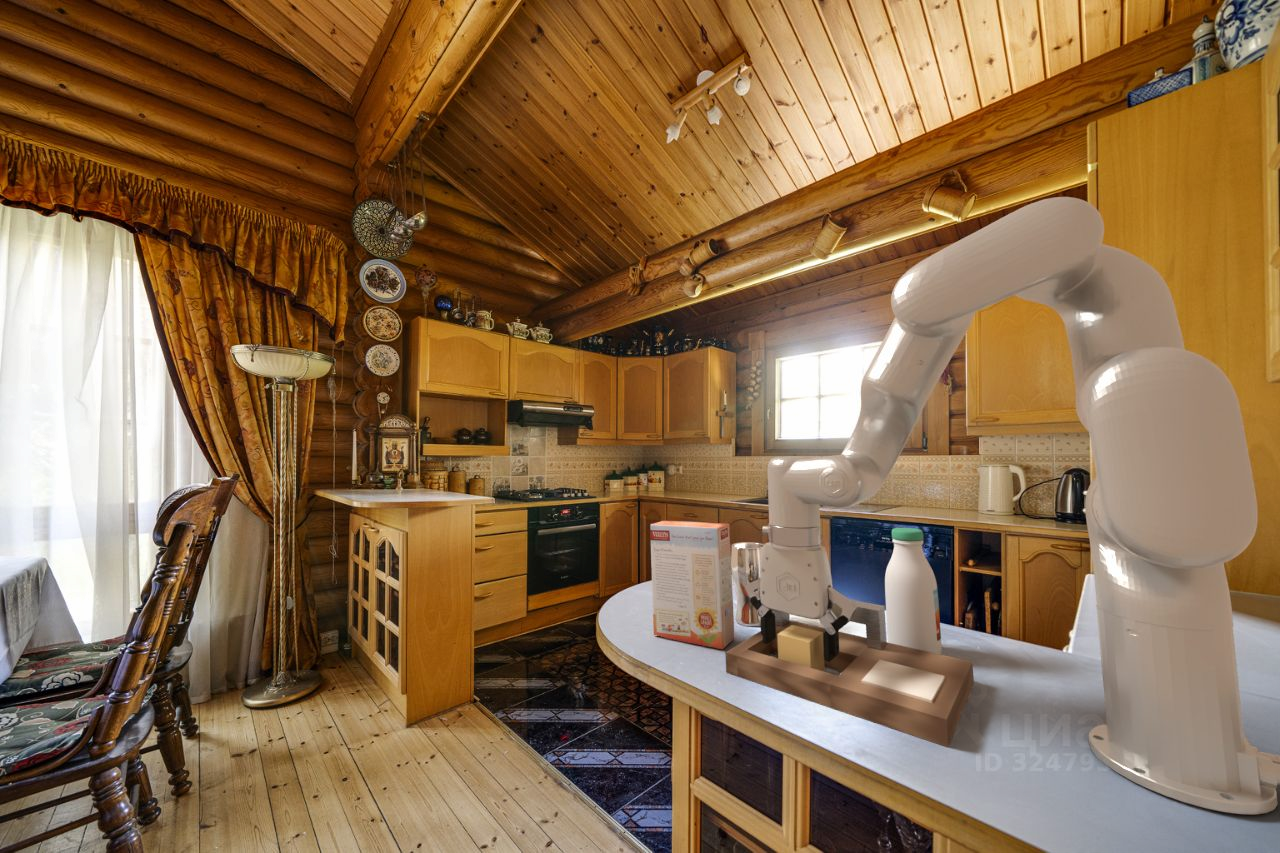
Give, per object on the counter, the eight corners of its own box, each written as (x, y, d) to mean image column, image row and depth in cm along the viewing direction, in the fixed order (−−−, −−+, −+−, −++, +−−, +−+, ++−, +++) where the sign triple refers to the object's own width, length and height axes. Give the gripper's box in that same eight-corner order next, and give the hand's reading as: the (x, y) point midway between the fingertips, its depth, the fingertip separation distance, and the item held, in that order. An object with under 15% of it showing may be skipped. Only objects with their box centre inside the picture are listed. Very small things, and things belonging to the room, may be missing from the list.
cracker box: (735, 639, 85) (731, 522, 86) (722, 651, 80) (718, 527, 81) (668, 626, 93) (664, 519, 94) (652, 636, 88) (648, 523, 89)
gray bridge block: (886, 643, 74) (884, 605, 74) (881, 649, 72) (878, 610, 72) (779, 619, 86) (777, 586, 86) (771, 623, 84) (770, 590, 84)
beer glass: (770, 628, 90) (767, 548, 91) (733, 626, 91) (730, 548, 92) (768, 616, 97) (764, 542, 98) (733, 614, 98) (730, 541, 99)
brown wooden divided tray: (974, 683, 67) (972, 659, 67) (948, 747, 53) (946, 716, 53) (782, 635, 86) (781, 616, 87) (726, 672, 72) (725, 650, 73)
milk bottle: (932, 665, 73) (924, 534, 74) (880, 651, 78) (873, 529, 80) (948, 651, 78) (940, 528, 79) (898, 638, 84) (891, 524, 85)
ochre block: (824, 672, 72) (822, 632, 72) (811, 685, 68) (809, 642, 68) (793, 663, 75) (791, 624, 75) (779, 674, 71) (777, 634, 72)
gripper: (733, 533, 76) (736, 642, 75) (843, 547, 64) (848, 676, 63) (756, 527, 81) (759, 628, 80) (861, 539, 70) (866, 657, 69)
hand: (798, 649), depth 72 cm, fingers open, 9 cm apart
